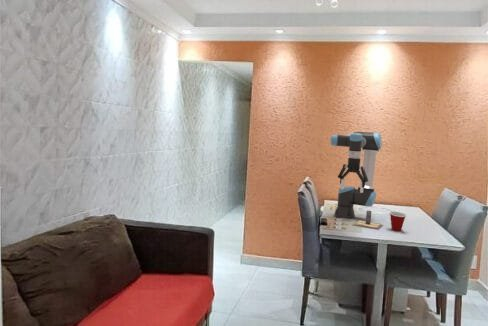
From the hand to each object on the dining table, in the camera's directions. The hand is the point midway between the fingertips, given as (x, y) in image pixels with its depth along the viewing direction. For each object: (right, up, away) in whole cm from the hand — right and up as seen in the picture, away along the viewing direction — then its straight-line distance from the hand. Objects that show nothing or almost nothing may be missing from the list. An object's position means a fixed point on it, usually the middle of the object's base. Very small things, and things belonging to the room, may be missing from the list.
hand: (351, 190), depth 269 cm
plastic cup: (+34, -28, +14) cm, 46 cm away
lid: (+17, -25, +23) cm, 38 cm away
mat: (+17, -26, +23) cm, 39 cm away
